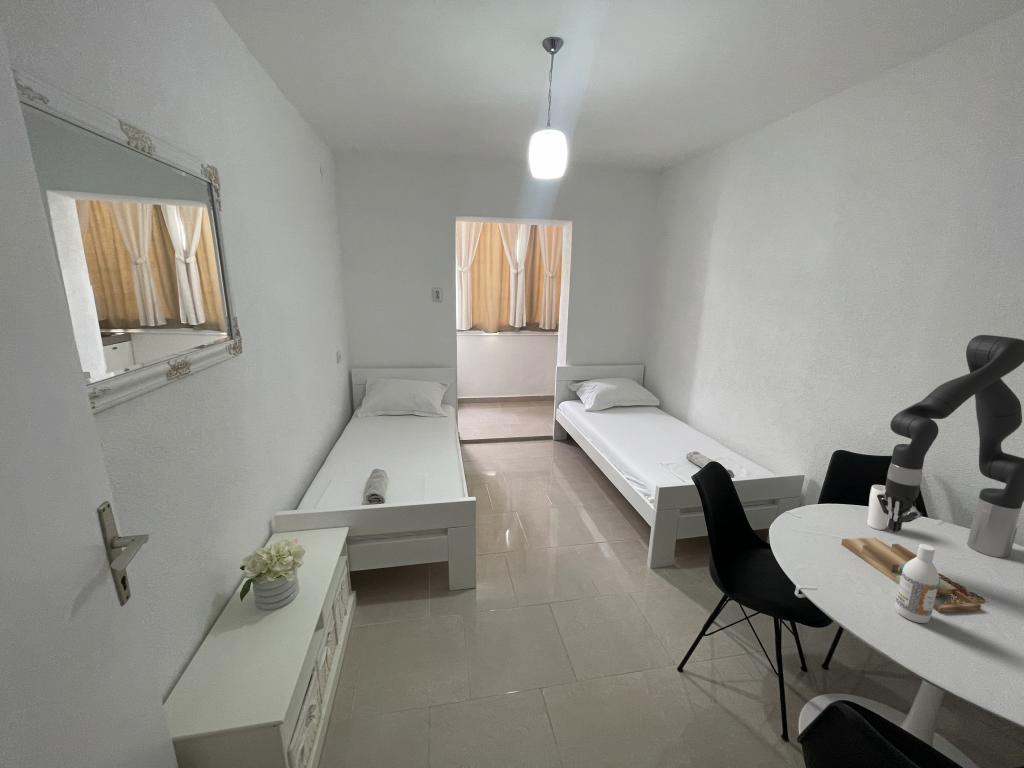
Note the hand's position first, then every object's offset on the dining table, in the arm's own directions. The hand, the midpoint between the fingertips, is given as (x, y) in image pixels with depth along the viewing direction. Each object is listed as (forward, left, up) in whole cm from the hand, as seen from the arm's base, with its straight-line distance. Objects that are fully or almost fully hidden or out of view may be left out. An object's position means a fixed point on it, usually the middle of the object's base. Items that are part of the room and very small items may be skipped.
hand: (893, 530), depth 133 cm
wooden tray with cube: (0, +5, -11) cm, 12 cm away
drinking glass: (-16, -20, -12) cm, 28 cm away
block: (+1, +10, -9) cm, 14 cm away
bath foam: (+14, +21, -12) cm, 28 cm away
